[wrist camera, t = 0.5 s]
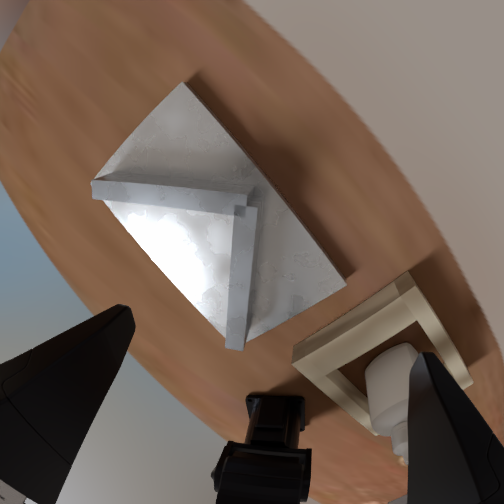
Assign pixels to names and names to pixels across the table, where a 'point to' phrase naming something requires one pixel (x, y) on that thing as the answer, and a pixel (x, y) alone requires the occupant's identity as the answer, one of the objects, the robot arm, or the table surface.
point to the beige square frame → (372, 343)
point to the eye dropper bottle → (391, 394)
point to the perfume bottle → (399, 500)
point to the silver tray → (214, 221)
